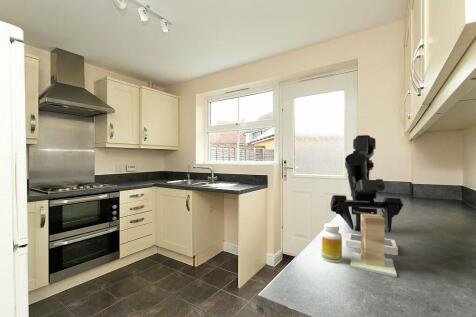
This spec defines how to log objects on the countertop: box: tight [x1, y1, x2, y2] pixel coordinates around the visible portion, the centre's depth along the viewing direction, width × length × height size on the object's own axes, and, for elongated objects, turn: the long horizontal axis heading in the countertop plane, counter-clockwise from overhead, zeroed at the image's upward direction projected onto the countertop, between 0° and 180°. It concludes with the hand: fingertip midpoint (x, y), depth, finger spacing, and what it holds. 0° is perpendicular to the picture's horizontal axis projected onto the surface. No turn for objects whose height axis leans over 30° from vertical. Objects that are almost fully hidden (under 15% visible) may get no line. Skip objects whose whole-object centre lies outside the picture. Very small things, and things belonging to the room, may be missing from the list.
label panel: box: [345, 232, 399, 256], centre depth 74 cm, size 9×14×2 cm, turn 61°
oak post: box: [360, 214, 386, 267], centre depth 61 cm, size 4×4×12 cm
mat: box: [350, 251, 398, 278], centre depth 61 cm, size 10×10×1 cm
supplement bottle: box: [321, 222, 343, 263], centre depth 64 cm, size 5×5×10 cm
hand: (370, 230), depth 62 cm, fingers open, 9 cm apart
